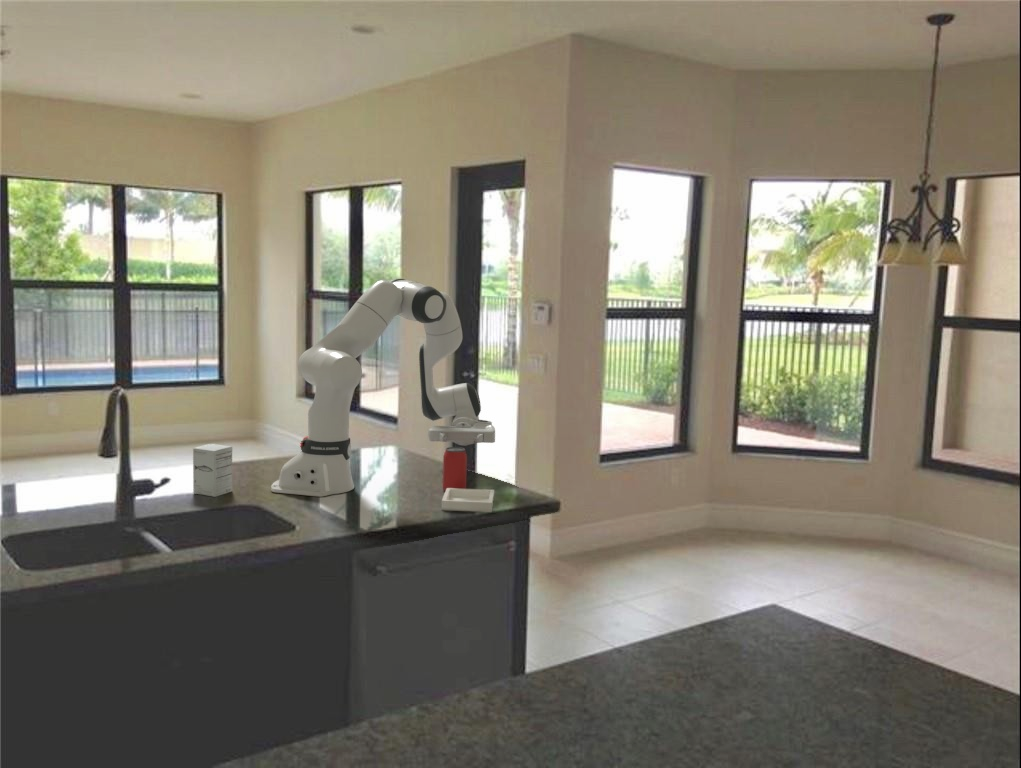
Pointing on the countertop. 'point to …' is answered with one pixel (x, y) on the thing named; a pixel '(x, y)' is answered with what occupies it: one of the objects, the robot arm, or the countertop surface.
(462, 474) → the beer can
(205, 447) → the supplement box
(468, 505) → the tray
